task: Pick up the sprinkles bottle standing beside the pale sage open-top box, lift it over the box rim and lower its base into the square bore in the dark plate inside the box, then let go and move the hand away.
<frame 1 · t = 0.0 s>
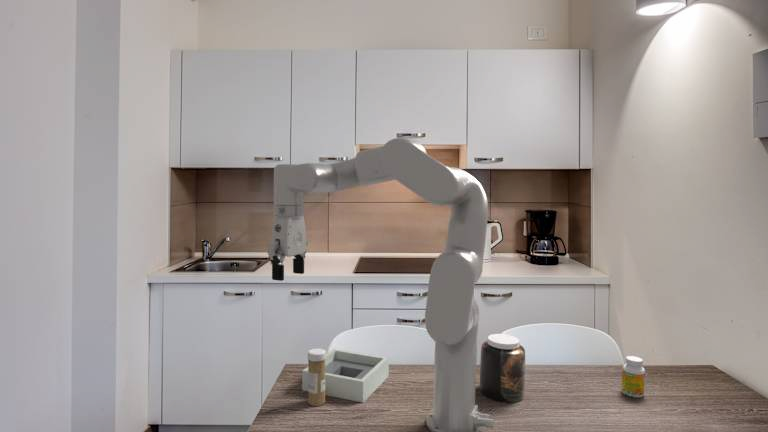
hand: (288, 276, 124), 31 cm above the table, tool pointing down, fingers open, 9 cm apart
sprinkles bottle: (316, 403, 120), on the table
open box: (347, 382, 132), on the table
jar: (501, 393, 127), on the table
supplement bottle: (632, 394, 128), on the table
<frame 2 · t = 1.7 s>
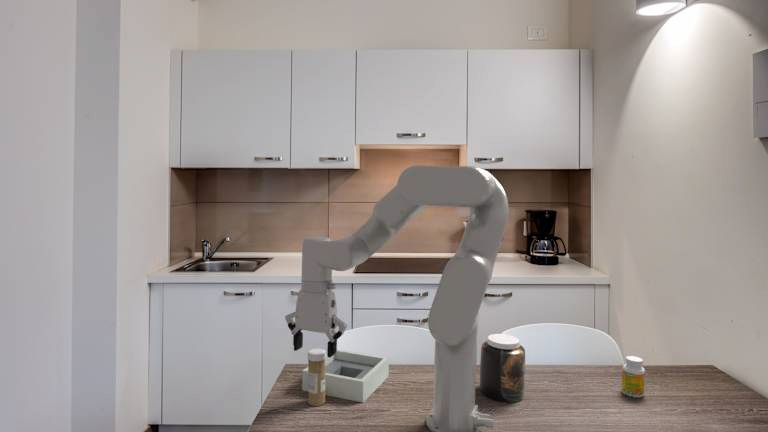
hand: (314, 352, 120), 13 cm above the table, tool pointing down, fingers open, 9 cm apart
nothing on the table moved.
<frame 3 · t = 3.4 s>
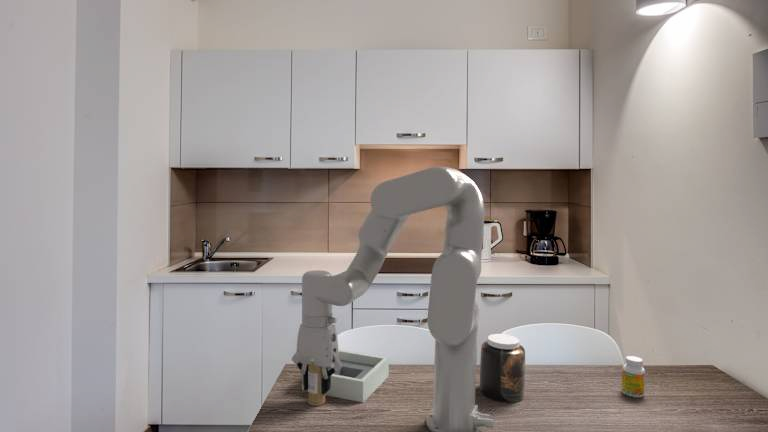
hand: (316, 389, 120), 3 cm above the table, tool pointing down, fingers closed on sprinkles bottle, 4 cm apart
sprinkles bottle: (316, 403, 120), on the table, touching gripper
everything else where it was.
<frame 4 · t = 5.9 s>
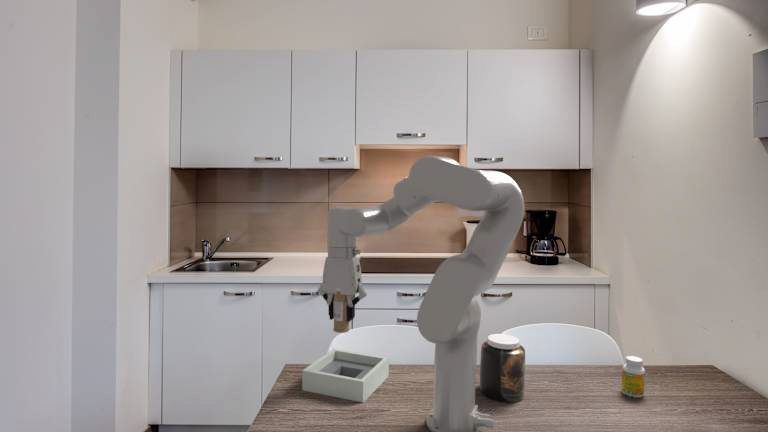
hand: (341, 318, 128), 19 cm above the table, tool pointing down, fingers closed on sprinkles bottle, 4 cm apart
sprinkles bottle: (341, 331, 128), point 16 cm above the table, touching gripper
everything else where it was.
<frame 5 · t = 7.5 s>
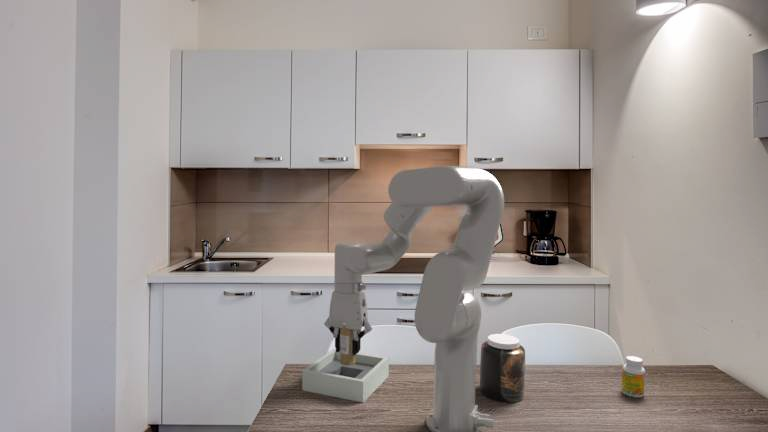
hand: (347, 351, 131), 9 cm above the table, tool pointing down, fingers closed on sprinkles bottle, 4 cm apart
sprinkles bottle: (347, 363, 132), point 6 cm above the table, touching gripper
everything else where it was.
when the fingers open (5 cm above the table, at t = 8.7 s): sprinkles bottle drops 1 cm, resting in open box.
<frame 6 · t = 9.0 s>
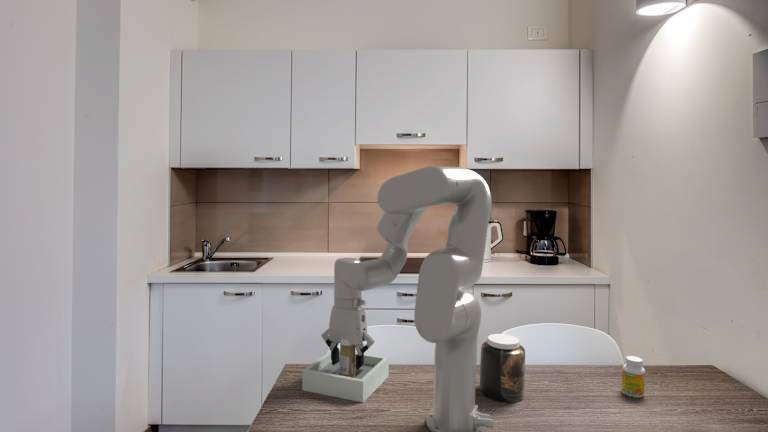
hand: (347, 364, 132), 5 cm above the table, tool pointing down, fingers open, 6 cm apart
sprinkles bottle: (347, 383, 132), resting in open box
everything else where it was.
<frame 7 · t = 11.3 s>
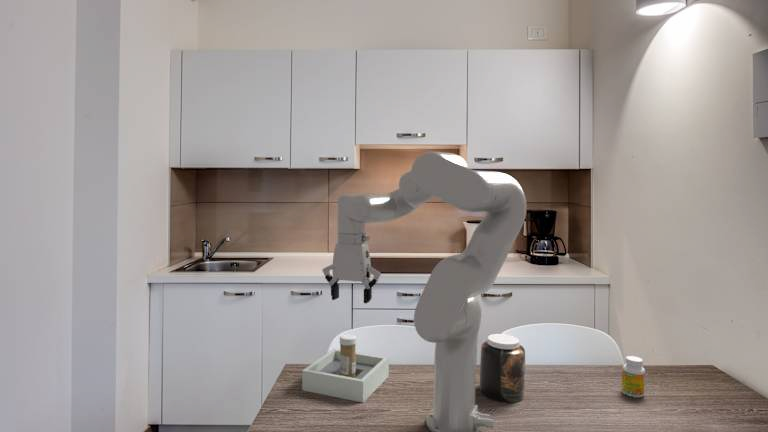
hand: (351, 300, 131), 23 cm above the table, tool pointing down, fingers open, 9 cm apart
nothing on the table moved.
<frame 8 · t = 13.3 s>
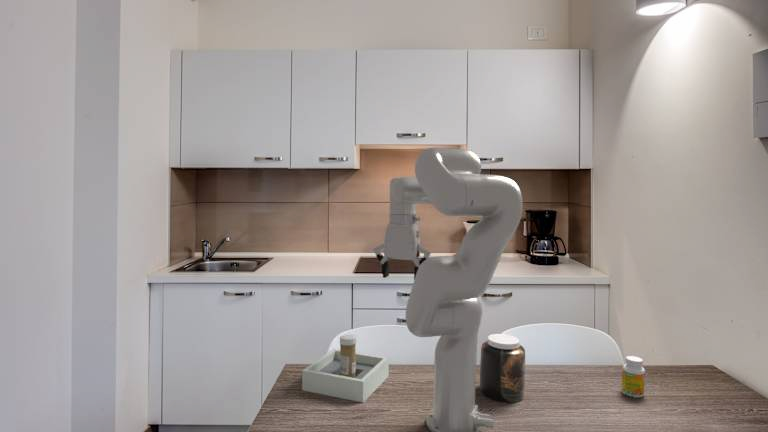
hand: (401, 278, 138), 28 cm above the table, tool pointing down, fingers open, 9 cm apart
nothing on the table moved.
at the end: sprinkles bottle 0.2 cm off-centre on the open box, point 0.0 cm above the open box's base; sprinkles bottle tilted 0°; the gripper is holding nothing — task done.
